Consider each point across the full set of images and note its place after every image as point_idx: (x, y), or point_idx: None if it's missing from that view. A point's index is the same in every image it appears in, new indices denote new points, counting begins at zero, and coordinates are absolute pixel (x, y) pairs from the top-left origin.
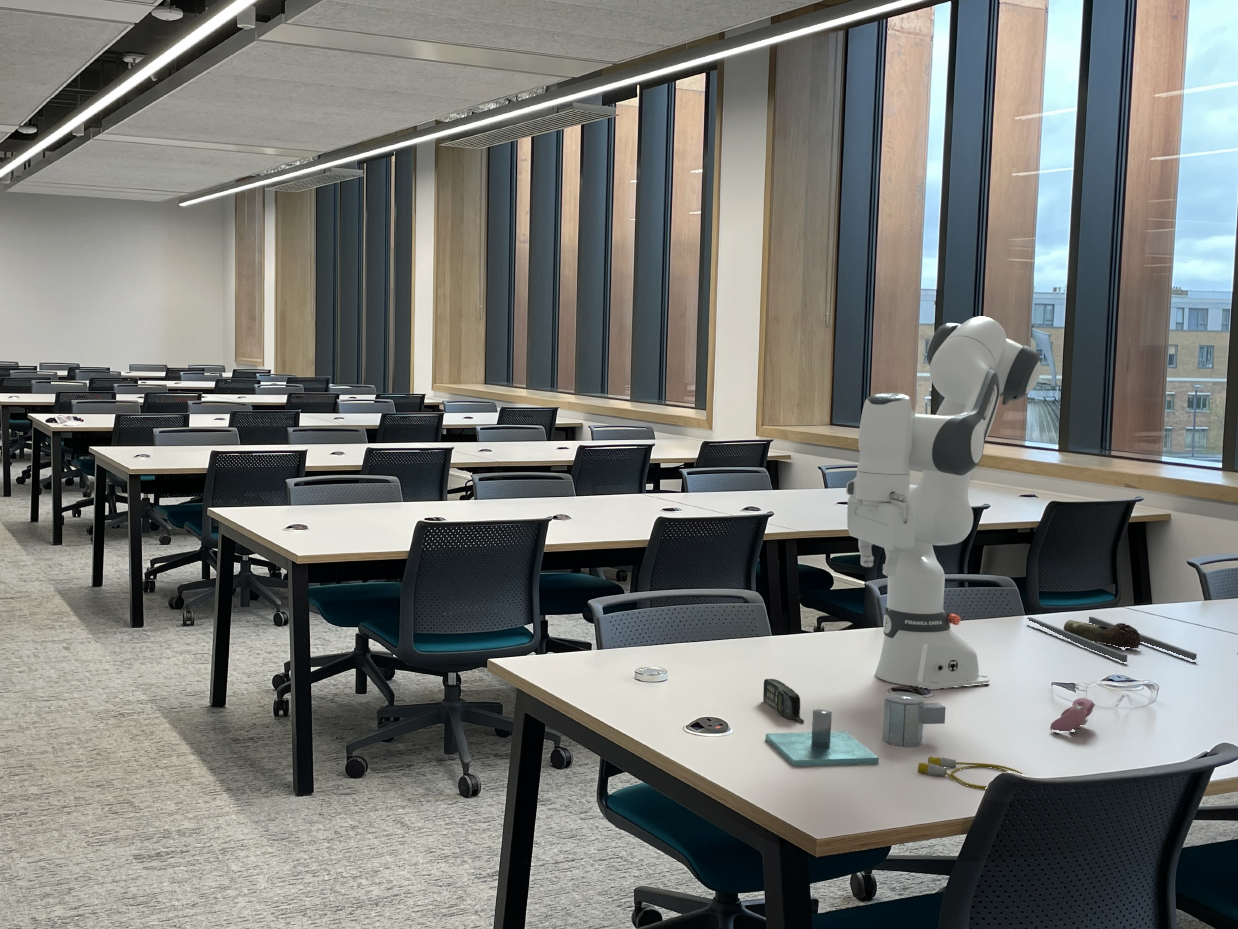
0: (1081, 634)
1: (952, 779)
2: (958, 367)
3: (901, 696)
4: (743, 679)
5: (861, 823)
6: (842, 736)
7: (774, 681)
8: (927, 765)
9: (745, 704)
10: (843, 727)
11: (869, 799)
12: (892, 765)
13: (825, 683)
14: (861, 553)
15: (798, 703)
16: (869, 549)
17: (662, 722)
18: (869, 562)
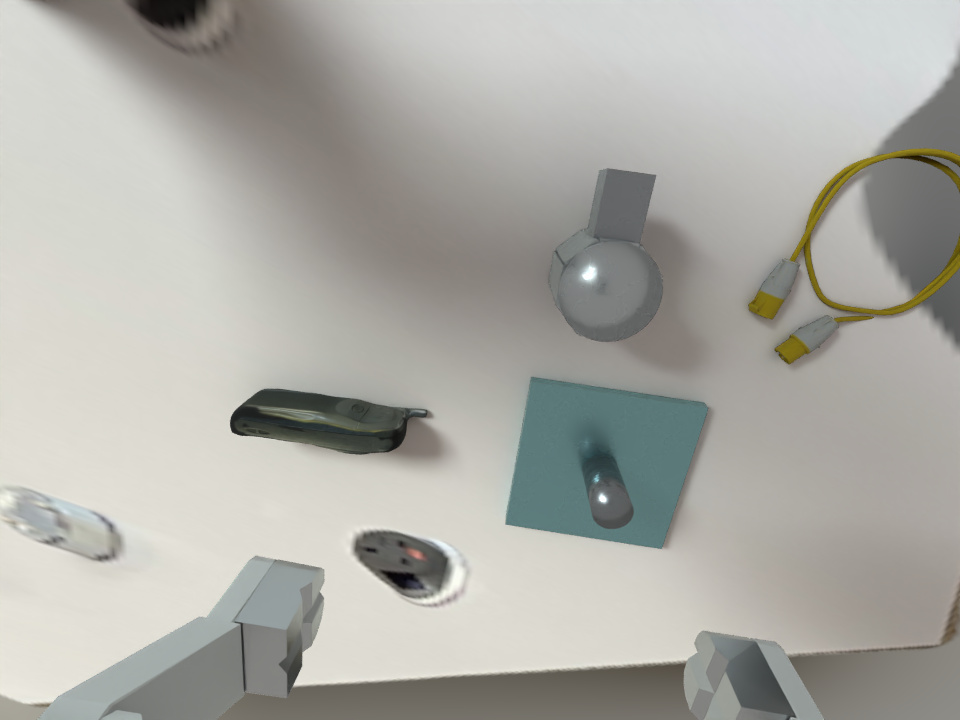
0: None
1: (855, 320)
2: None
3: (607, 302)
4: (82, 372)
5: (931, 571)
6: (562, 404)
7: (267, 431)
8: (808, 352)
9: (279, 452)
10: (466, 344)
11: (852, 510)
12: (721, 381)
13: (102, 192)
14: (215, 710)
15: (401, 432)
16: (168, 686)
17: (376, 617)
18: (304, 610)
